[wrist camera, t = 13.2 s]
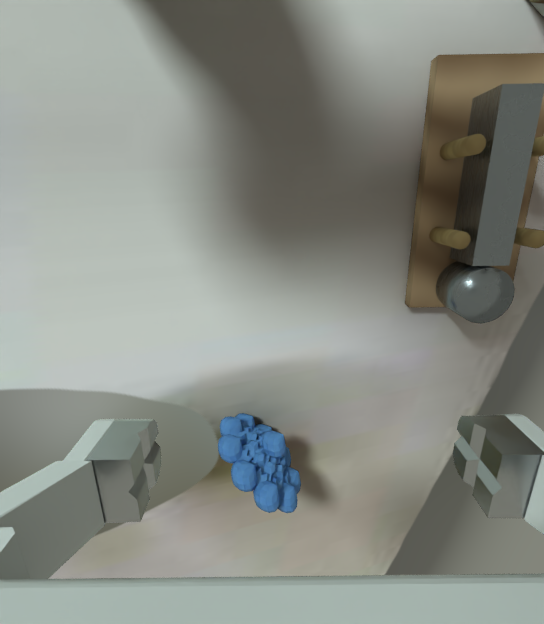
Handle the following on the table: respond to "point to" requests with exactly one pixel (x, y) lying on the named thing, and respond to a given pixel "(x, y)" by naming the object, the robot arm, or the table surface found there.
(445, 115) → the peg board
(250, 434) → the grapes
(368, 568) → the table surface
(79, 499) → the robot arm
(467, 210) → the grey bar
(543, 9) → the coffee box
